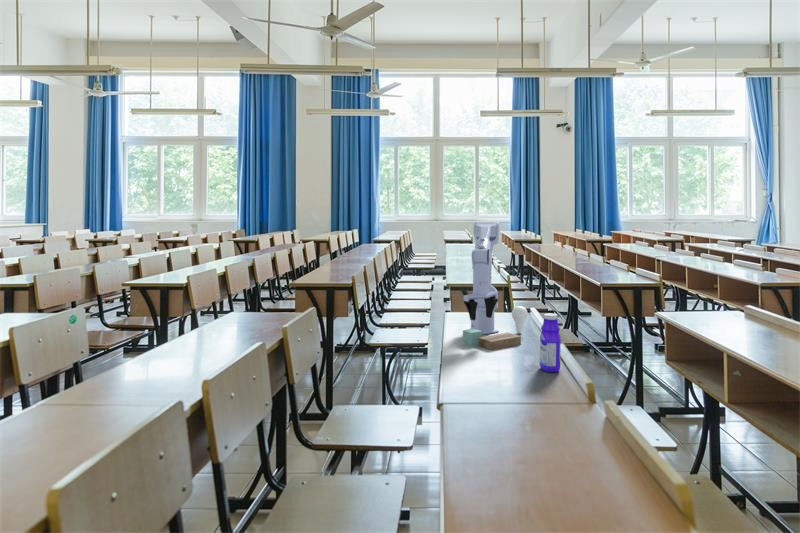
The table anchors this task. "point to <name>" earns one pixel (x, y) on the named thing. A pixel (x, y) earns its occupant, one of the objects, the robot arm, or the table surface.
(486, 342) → the pencil box
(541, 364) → the bottle
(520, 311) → the lightbulb
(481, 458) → the table surface
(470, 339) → the teal cube
